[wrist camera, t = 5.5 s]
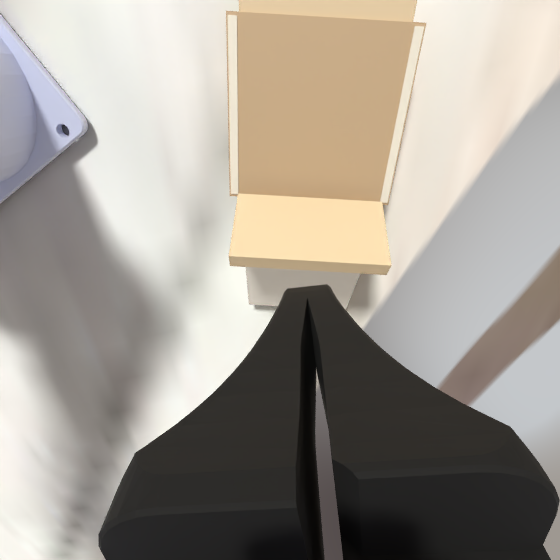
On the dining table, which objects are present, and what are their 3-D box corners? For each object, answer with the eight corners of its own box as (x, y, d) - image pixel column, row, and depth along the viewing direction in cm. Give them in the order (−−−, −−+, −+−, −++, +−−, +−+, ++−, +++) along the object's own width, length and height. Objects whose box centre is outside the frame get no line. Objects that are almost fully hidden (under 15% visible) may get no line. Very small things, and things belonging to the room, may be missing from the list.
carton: (234, -2, 13) (225, -14, 11) (412, 9, 13) (431, -1, 11) (236, 182, 16) (229, 196, 14) (377, 190, 16) (388, 205, 14)
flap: (228, 256, 12) (239, 330, 18) (391, 265, 12) (353, 337, 18) (238, 193, 14) (246, 279, 19) (382, 201, 14) (349, 285, 19)
